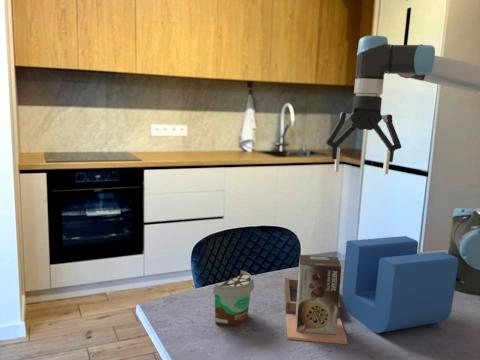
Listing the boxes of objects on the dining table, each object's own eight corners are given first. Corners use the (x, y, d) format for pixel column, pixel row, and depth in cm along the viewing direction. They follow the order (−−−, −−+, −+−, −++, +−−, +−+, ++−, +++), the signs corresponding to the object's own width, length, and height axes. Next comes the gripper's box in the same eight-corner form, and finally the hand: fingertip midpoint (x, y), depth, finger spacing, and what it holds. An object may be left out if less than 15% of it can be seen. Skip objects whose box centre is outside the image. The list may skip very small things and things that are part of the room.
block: (340, 307, 118) (346, 239, 115) (396, 299, 124) (404, 235, 121) (386, 342, 101) (395, 265, 98) (448, 331, 108) (458, 258, 105)
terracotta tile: (340, 320, 110) (340, 318, 110) (347, 344, 100) (347, 341, 100) (285, 316, 111) (286, 313, 111) (287, 339, 100) (287, 336, 100)
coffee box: (333, 321, 108) (339, 256, 105) (336, 335, 102) (342, 266, 99) (294, 318, 109) (299, 253, 106) (295, 332, 103) (300, 263, 100)
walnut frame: (331, 291, 127) (332, 281, 127) (339, 318, 111) (340, 306, 111) (284, 287, 128) (284, 277, 127) (285, 314, 112) (286, 302, 112)
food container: (234, 334, 101) (236, 292, 100) (211, 326, 104) (213, 285, 103) (261, 314, 112) (264, 275, 110) (240, 307, 115) (242, 269, 113)
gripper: (410, 97, 128) (402, 172, 132) (320, 93, 129) (314, 167, 133) (418, 97, 121) (409, 177, 124) (323, 93, 122) (317, 171, 126)
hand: (360, 172), depth 129 cm, fingers open, 13 cm apart
